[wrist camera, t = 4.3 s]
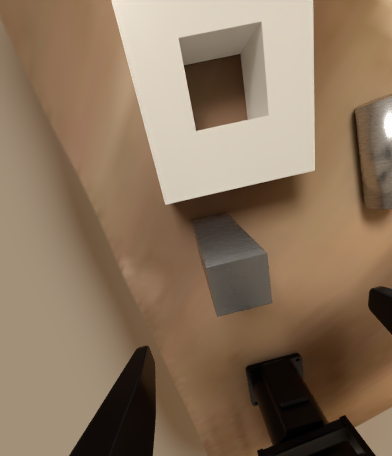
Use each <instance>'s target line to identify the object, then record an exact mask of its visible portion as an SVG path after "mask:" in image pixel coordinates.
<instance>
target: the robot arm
mask: <svg viewBox="0 0 392 456" xmlns="http://www.w3.org/2000/svg"><path fill="white" fill-rule="evenodd" d="M368 307H369V309H370V311H371V312H372V313H373V314H374V315H375V316H376V317H377V319H378V320H379V321H380V322H381V323H382V324H383V325H384V326H385V327H386V329H387V330H388V331H389V332H390V333H391V334H392V289H390V288H387V287H383V286H379V287H375V288H372V289H370V291H369V300H368ZM246 375H247V381H248V386H249V392H250V397H251V402H252V405H253V406H258V405H259V408H260V410H261V413H262V416H263V419H264V422H265V425H266V427H267V430H268V433H269V436H270V439H271V442H272V444H273V446H271V447H269V448H266V449H264V450H263V449H260V450H257V453H258V456H375V454H374V453H373V452H372V450H371V449H370V448H369V446H368V445H367V444H366V442H365V441H364V440H363V438H362V437H361V436H360V434H359V433H358V432H357V430H356V429H355V428H354V427H353V425H352V424H351V423H350V421H349V420H348V419H347V417H346V416H345V415H344V416H342V417H339V418H340V419H338V420H336V421H333V422H331V423H329V422H328V421H327V419H326V417H325V416H324V414H323V412H322V411H321V409H320V407H319V406H318V404H317V402H316V401H315V399H314V397H313V395H312V394H311V392H310V390H309V389H308V387H307V385H306V384H305V382H304V380H303V368H302V357H301V356H300V354H298V353H296V354H292V355H288V356H284V357H280V358H277V359H273V360H269V361H265V362H261V363H258V364H254V365H250V366H248V367H246ZM155 388H156V387H155V362H154V359H153V356H152V353H151V351H150V348H149V346H143V347H139V348H138V349H136V351H135V352H134V354H133V355H132V357H131V359H130V360H129V362H128V363H127V365H126V367H125V368H124V370H123V371H122V373H121V374H120V376H119V378H118V379H117V381H116V382H115V384H114V385H113V387H112V389H111V390H110V392H109V394H108V395H107V397H106V398H105V400H104V401H103V403H102V405H101V406H100V408H99V409H98V411H97V413H96V414H95V416H94V418H93V419H92V421H91V422H90V423H89V425H88V427H87V428H86V430H85V431H84V433H83V435H82V436H81V438H80V439H79V441H78V442H77V444H76V446H75V447H74V449H73V450H72V452H71V454H70V455H69V456H153V445H154V433H155V419H156V389H155Z"/></svg>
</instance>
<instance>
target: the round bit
mask: <svg viewBox="0 0 392 456" xmlns="http://www.w3.org/2000/svg"><path fill="white" fill-rule="evenodd" d="M355 116H356V126H357V135H358V145H359V154H360V164H361V174H362V183H363V193H364V203H365V206H366V207H368V208H372V209H392V94H389V95H386V96H383V97H380V98H378V99H375V100H372V101H370V102H368V103H365V104H363V105H361V106H358V107H356V108H355Z"/></svg>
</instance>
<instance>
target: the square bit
mask: <svg viewBox="0 0 392 456" xmlns="http://www.w3.org/2000/svg"><path fill="white" fill-rule="evenodd" d="M192 224H193V229H194V233H195V238H196V242H197V246H198V251H199V255H200V258H201V262H202V265H203V269H204V272H205V276H206V279H207V283H208V286H209V290H210V293H211V297H212V300H213V304H214V307H215V311H216V314H217V317H218V316H222V315H226V314H230V313H234V312H238V311H242V310H246V309H250V308H254V307H258V306H262V305H266V304H270V303H272V297H271V287H270V277H269V267H268V257H267V253H266V252H265V251H264V250H263V249H262V248H261V247H260V246H259V245H258V244H257V243H256V242H255V241H254V240H253V239H252V238H251V237H250V236H249V235H248V234H247V233H246V232H245V231H244V230H243V229H242V228H241V227H240V226H239V225H238V224H237V223H236V222H235V221H234V220H233V219H232V218H231V217H230V216H229V215H228V214H227V213H226V212H225V213H221V214H217V215H212V216H208V217H204V218H199V219H195V220H192Z"/></svg>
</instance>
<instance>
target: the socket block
mask: <svg viewBox="0 0 392 456" xmlns="http://www.w3.org/2000/svg"><path fill="white" fill-rule="evenodd" d="M112 4H113V8H114V12H115V16H116V19H117V23H118V27H119V31H120V34H121V38H122V42H123V46H124V50H125V53H126V57H127V61H128V65H129V69H130V72H131V76H132V80H133V84H134V88H135V91H136V95H137V99H138V103H139V106H140V110H141V114H142V118H143V122H144V125H145V129H146V133H147V137H148V141H149V144H150V148H151V152H152V156H153V160H154V163H155V167H156V171H157V175H158V178H159V182H160V186H161V190H162V194H163V197H164V201H165V205H166V204H171V203H175V202H179V201H184V200H188V199H192V198H197V197H201V196H206V195H210V194H214V193H219V192H223V191H227V190H232V189H236V188H240V187H245V186H249V185H254V184H258V183H262V182H267V181H271V180H275V179H280V178H284V177H289V176H293V175H297V174H302V173H306V172H310V171H315V140H314V40H313V0H112ZM237 54H240V55H241V64H242V73H243V82H244V91H245V101H246V110H247V119H248V120H245V121H241V122H236V123H231V124H227V125H222V126H217V127H213V128H208V129H204V130H199V131H196V128H195V123H194V118H193V112H192V107H191V102H190V96H189V91H188V86H187V80H186V75H185V70H184V65H188V64H193V63H198V62H203V61H208V60H213V59H218V58H223V57H228V56H232V55H237Z"/></svg>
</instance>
